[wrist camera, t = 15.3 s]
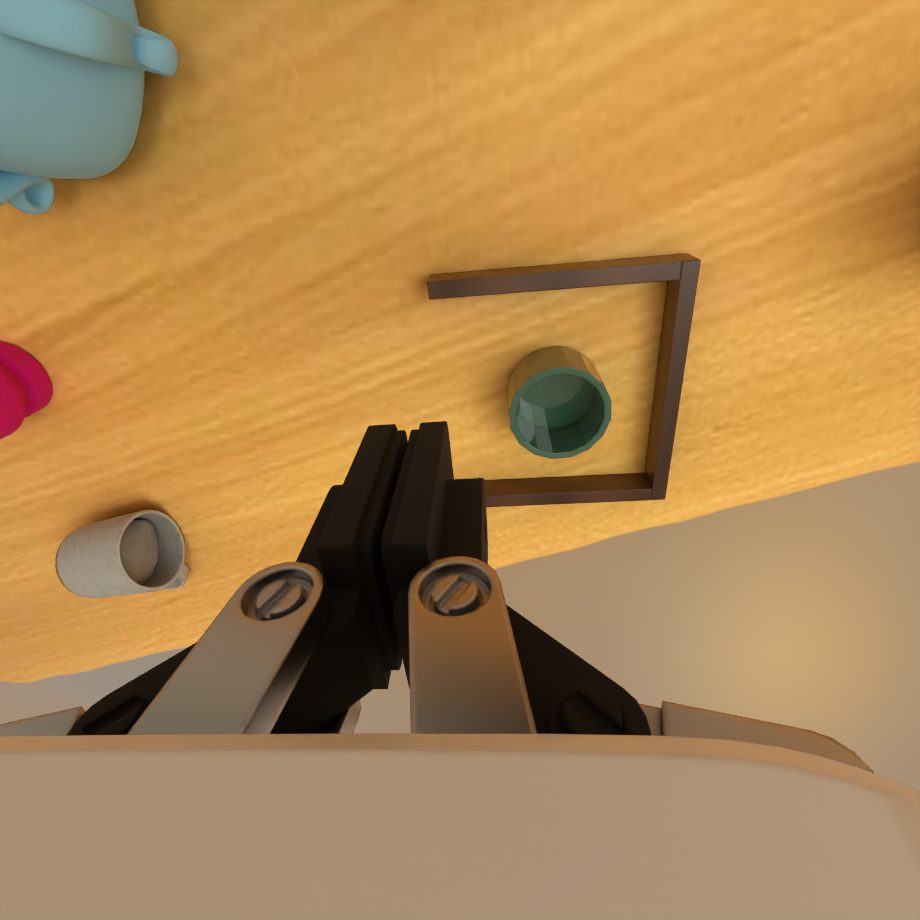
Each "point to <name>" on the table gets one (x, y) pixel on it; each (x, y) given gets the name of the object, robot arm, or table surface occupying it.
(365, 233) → the table surface
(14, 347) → the pepper mill
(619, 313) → the table surface
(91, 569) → the ceramic mug
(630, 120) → the table surface
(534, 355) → the green cup
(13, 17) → the decorative pot
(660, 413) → the walnut bay
